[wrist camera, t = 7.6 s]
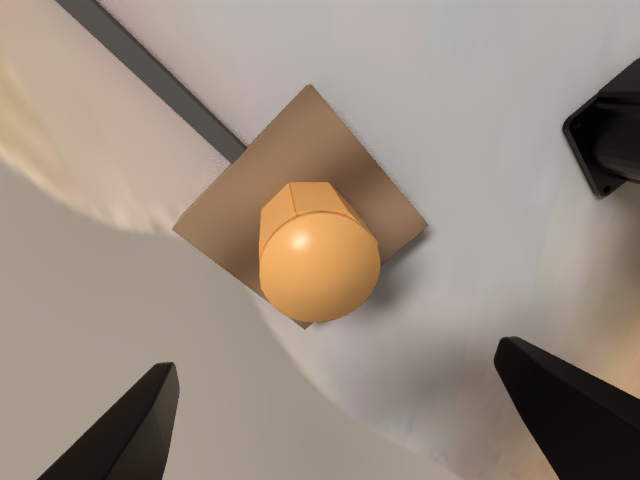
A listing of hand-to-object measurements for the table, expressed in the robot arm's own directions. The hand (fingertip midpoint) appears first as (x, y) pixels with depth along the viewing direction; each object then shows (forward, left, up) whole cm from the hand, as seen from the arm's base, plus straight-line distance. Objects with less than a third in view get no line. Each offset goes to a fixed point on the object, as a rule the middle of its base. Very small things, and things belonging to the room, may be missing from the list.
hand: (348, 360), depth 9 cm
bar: (+13, 0, -12) cm, 18 cm away
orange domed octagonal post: (0, 0, -10) cm, 10 cm away
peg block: (0, 0, -12) cm, 12 cm away
